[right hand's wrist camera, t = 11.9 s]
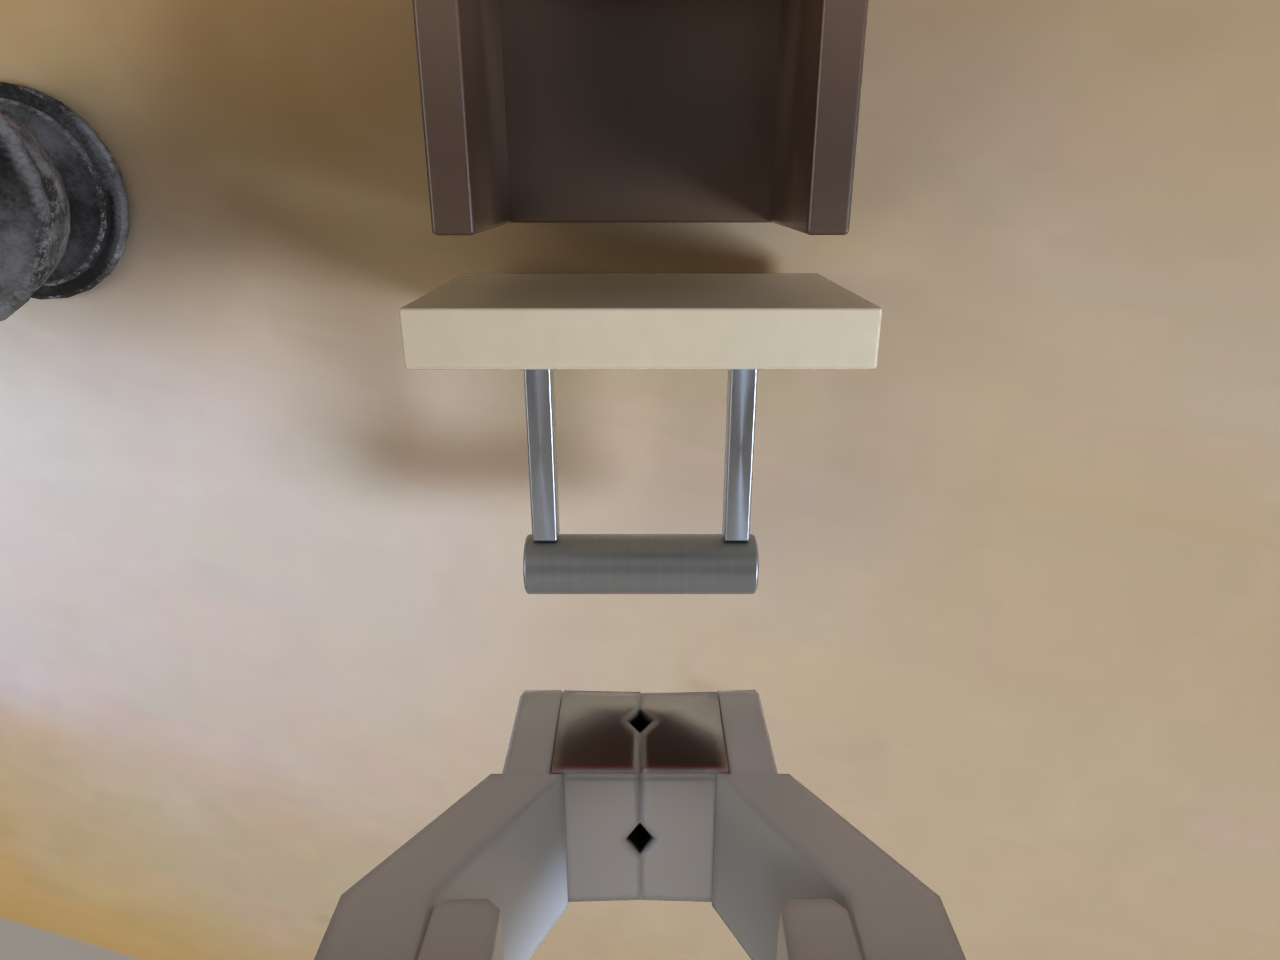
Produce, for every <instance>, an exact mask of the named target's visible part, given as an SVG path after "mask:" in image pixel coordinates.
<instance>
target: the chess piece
mask: <svg viewBox="0 0 1280 960" xmlns="http://www.w3.org/2000/svg"><path fill="white" fill-rule="evenodd" d="M128 232H129V202H128V198H127V194H126V191H125V187H124V183H123V179H122V176H121V173H120V171H119V169H118V167H117V165H116V164H115V162H114V160H113V158H112V156H111V154H110V152H109V150H108V148H107V147H106V145H105V144H104V143H103V142H102V140H101V139H100V138H99V137H98V136H97V134H96V133H95V132H94V131H93V130H92V128H91V127H90V126H89V125H88V124H87V122H85V121H84V120H83V119H82V118H80V117H79V116H78V115H77V114H75V113H74V112H73V111H72V110H70V109H69V108H68V107H67V106H65V105H64V104H63V103H62V102H60V101H58V100H56V99H53V98H51V97H49V96H47V95H45V94H43V93H41V92H39V91H37V90H35V89H32V88H27V87H22V86H18V85H13V84H8V83H3V82H0V321H3V320H5V319H7V318H8V317H9V316H10V315H12V314H13V313H14V312H15V311H16V310H18V309H19V308H20V307H21V306H23V305H24V304H25V303H26V302H28V301H29V299H30V297H31V298H37V299H55V298H68V297H71V296H74V295H76V294H79V293H82V292H85V291H87V290H90V289H92V288H93V287H95V286H96V285H97V284H98V283H100V282H101V281H102V280H103V279H105V278H106V277H107V276H108V275H110V273H111V272H112V270H113V269H114V267H115V265H116V264H117V262H118V261H119V259H120V258H121V256H122V254H123V251H124V247H125V243H126V240H127V236H128Z"/></svg>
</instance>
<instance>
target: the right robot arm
mask: <svg viewBox="0 0 1280 960" xmlns="http://www.w3.org/2000/svg"><path fill="white" fill-rule="evenodd" d="M612 900H666V901H701V902H712V906H713V907H714V909H715V910H716V912H717V913H718V914H719V916H720V917H721V918H722V920H723V921H724V922H725V924H726V925H727V927H728V928H729V929H730V931H731V932H732V933H733V935H734V936H735V938H736V939H737V940H738V942H739V943H740V944H741V946H742V947H743V949H744V950H745V951H746V953H747V954H748V955H749V957H750V958H751V960H966V958H965V956H964V954H963V951H962V949H961V946H960V944H959V942H958V939H957V937H956V934H955V932H954V930H953V927H952V925H951V922H950V920H949V918H948V915H947V913H946V910H945V908H944V906H943V903H942V901H941V899H940V896H938V895H937V894H936V893H935V892H933V891H932V890H931V889H930V888H929V887H927V886H926V885H925V884H924V883H922V882H921V881H920V880H919V879H918V878H916V877H915V876H914V875H913V874H911V873H910V872H909V871H908V870H906V869H905V868H904V867H903V866H902V865H900V864H899V863H898V862H897V861H895V860H894V859H893V858H892V857H891V856H889V855H888V854H887V853H886V852H884V851H883V850H882V849H881V848H879V847H878V846H877V845H876V844H875V843H873V842H872V841H871V840H870V839H868V838H867V837H866V836H865V835H864V834H862V833H861V832H860V831H859V830H857V829H856V828H855V827H854V826H852V825H851V824H850V823H849V822H848V821H846V820H845V819H844V818H843V817H841V816H840V815H839V814H838V813H837V812H835V811H834V810H833V809H832V808H830V807H829V806H828V805H827V804H825V803H824V802H823V801H822V800H821V799H819V798H818V797H817V796H816V795H814V794H813V793H812V792H811V791H810V790H808V789H807V788H806V787H805V786H803V785H802V784H801V783H800V782H798V781H797V780H796V779H795V778H794V777H792V776H791V775H790V774H778V773H777V769H776V764H775V760H774V756H773V752H772V747H771V743H770V739H769V735H768V731H767V726H766V722H765V718H764V714H763V709H762V705H761V701H760V697H759V694H758V693H757V692H756V691H755V690H735V691H717V692H680V693H640V692H611V691H564V692H562V691H561V690H525V691H524V692H523V694H522V695H521V696H520V700H519V704H518V709H517V713H516V717H515V722H514V726H513V730H512V734H511V739H510V743H509V747H508V751H507V756H506V760H505V764H504V769H503V773H502V774H490V775H489V776H488V777H486V778H485V779H484V780H483V781H482V782H480V783H479V784H478V785H477V786H475V787H474V788H473V789H472V790H470V791H469V792H468V793H467V794H466V795H464V796H463V797H462V798H461V799H459V800H458V801H457V802H456V803H454V804H453V805H452V806H451V807H449V808H448V809H447V810H446V811H445V812H443V813H442V814H441V815H440V816H438V817H437V818H436V819H435V820H433V821H432V822H431V823H430V824H429V825H427V826H426V827H425V828H424V829H422V830H421V831H420V832H419V833H417V834H416V835H415V836H414V837H413V838H411V839H410V840H409V841H408V842H406V843H405V844H404V845H403V846H401V847H400V848H399V849H398V850H396V851H395V852H394V853H393V854H392V855H390V856H389V857H388V858H387V859H385V860H384V861H383V862H382V863H380V864H379V865H378V866H377V867H376V868H374V869H373V870H372V871H371V872H369V873H368V874H367V875H366V876H364V877H363V878H362V879H361V880H359V881H358V882H357V883H356V884H355V885H353V886H352V887H351V888H350V889H348V890H347V891H346V892H345V893H343V894H342V895H341V897H340V900H339V902H338V904H337V907H336V909H335V911H334V914H333V916H332V918H331V921H330V923H329V926H328V928H327V930H326V933H325V935H324V937H323V940H322V942H321V944H320V947H319V949H318V951H317V954H316V956H315V959H314V960H529V959H530V958H531V956H532V955H533V953H534V952H535V951H536V949H537V948H538V947H539V945H540V944H541V942H542V941H543V940H544V938H545V937H546V936H547V934H548V933H549V932H550V930H551V929H552V927H553V926H554V925H555V923H556V922H557V921H558V919H559V918H560V917H561V915H562V914H563V912H564V911H565V910H566V908H567V907H568V902H578V901H612Z"/></svg>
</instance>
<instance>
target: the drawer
mask: <svg viewBox="0 0 1280 960" xmlns="http://www.w3.org/2000/svg"><path fill="white" fill-rule="evenodd" d="M867 10H868V0H413V12H414V24H415V35H416V47H417V59H418V70H419V82H420V94H421V105H422V117H423V129H424V140H425V152H426V163H427V175H428V187H429V198H430V210H431V222H432V231H433V233H434V234H435V235H473V234H476V233H479V232H482V231H485V230H488V229H491V228H494V227H497V226H500V225H503V224H506V223H556V222H773V223H776V224H779V225H782V226H785V227H788V228H791V229H794V230H797V231H800V232H803V233H806V234H809V235H845V234H847V233H848V231H849V224H850V212H851V200H852V188H853V177H854V165H855V153H856V141H857V129H858V117H859V105H860V93H861V82H862V70H863V58H864V46H865V34H866V22H867ZM399 314H400V324H401V334H402V343H403V353H404V363H405V368H406V369H409V370H463V369H524V381H525V401H526V420H527V440H528V459H529V479H530V498H531V518H532V534H530V535H528V536H527V538H526V541H525V546H524V558H523V576H524V586H525V590H526V592H527V593H528V594H754V593H755V592H756V589H757V585H758V568H759V565H758V548H757V542H756V538H755V536H754V535H752V534H749V533H750V513H751V493H752V473H753V453H754V432H755V412H756V392H757V372H758V369H875V368H876V366H877V358H878V348H879V338H880V328H881V318H882V308H880V307H878V306H876V305H875V304H873V303H871V302H869V301H867V300H865V299H863V298H862V297H860V296H858V295H856V294H854V293H852V292H850V291H849V290H847V289H845V288H843V287H841V286H839V285H838V284H836V283H834V282H832V281H830V280H828V279H826V278H825V277H823V276H821V275H819V274H817V273H813V274H463V275H462V276H460V277H458V278H456V279H454V280H452V281H450V282H449V283H447V284H445V285H443V286H441V287H439V288H437V289H435V290H434V291H432V292H430V293H428V294H426V295H424V296H422V297H421V298H419V299H417V300H415V301H413V302H411V303H409V304H408V305H406V306H404V307H402V308H400V310H399ZM553 369H728V391H727V418H726V445H725V472H724V499H723V526H722V532H723V534H559V505H558V479H557V453H556V428H555V402H554V376H553Z"/></svg>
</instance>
